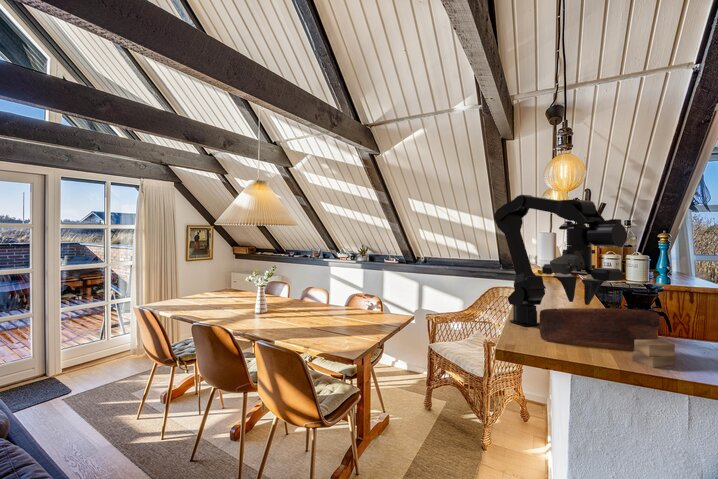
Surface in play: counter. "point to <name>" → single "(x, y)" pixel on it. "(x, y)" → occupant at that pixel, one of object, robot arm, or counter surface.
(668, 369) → the counter surface
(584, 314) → the wooden tablet
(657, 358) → the offcut lower
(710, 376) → the counter surface
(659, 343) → the offcut upper
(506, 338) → the counter surface
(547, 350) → the counter surface
